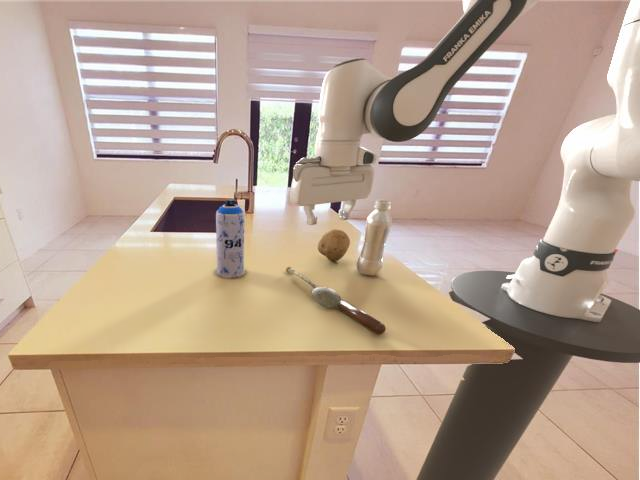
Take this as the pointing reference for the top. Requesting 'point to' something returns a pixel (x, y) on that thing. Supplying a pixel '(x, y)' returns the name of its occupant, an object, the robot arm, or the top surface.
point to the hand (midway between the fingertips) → (328, 221)
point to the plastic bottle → (375, 238)
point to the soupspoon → (321, 293)
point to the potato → (334, 244)
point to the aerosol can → (230, 240)
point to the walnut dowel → (362, 317)
